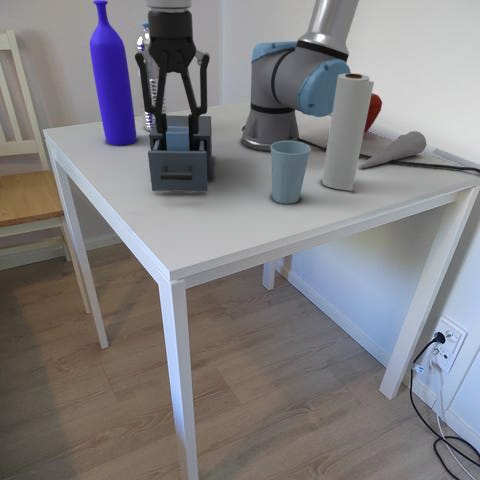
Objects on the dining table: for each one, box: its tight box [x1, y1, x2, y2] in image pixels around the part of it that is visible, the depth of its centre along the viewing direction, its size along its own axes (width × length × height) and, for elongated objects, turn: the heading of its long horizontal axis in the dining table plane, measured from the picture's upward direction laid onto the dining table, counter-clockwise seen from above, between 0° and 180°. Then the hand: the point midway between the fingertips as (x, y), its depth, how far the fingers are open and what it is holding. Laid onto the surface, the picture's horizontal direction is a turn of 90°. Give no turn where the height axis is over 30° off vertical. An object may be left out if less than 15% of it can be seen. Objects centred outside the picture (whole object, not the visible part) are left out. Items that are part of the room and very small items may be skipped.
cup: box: [270, 141, 311, 205], centre depth 85 cm, size 8×8×10 cm
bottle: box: [89, 0, 137, 146], centre depth 104 cm, size 8×8×30 cm
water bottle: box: [134, 22, 168, 132], centre depth 114 cm, size 7×7×25 cm
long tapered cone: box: [360, 130, 427, 169], centre depth 104 cm, size 6×6×19 cm
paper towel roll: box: [321, 72, 375, 192], centre depth 87 cm, size 7×6×21 cm
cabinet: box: [148, 114, 213, 182], centre depth 97 cm, size 15×13×10 cm
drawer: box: [147, 139, 208, 192], centre depth 89 cm, size 18×11×8 cm, turn 2°
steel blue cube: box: [166, 126, 190, 151], centre depth 86 cm, size 4×4×4 cm
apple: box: [363, 92, 383, 135], centre depth 118 cm, size 11×11×12 cm
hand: (179, 149), depth 87 cm, fingers open, 4 cm apart
